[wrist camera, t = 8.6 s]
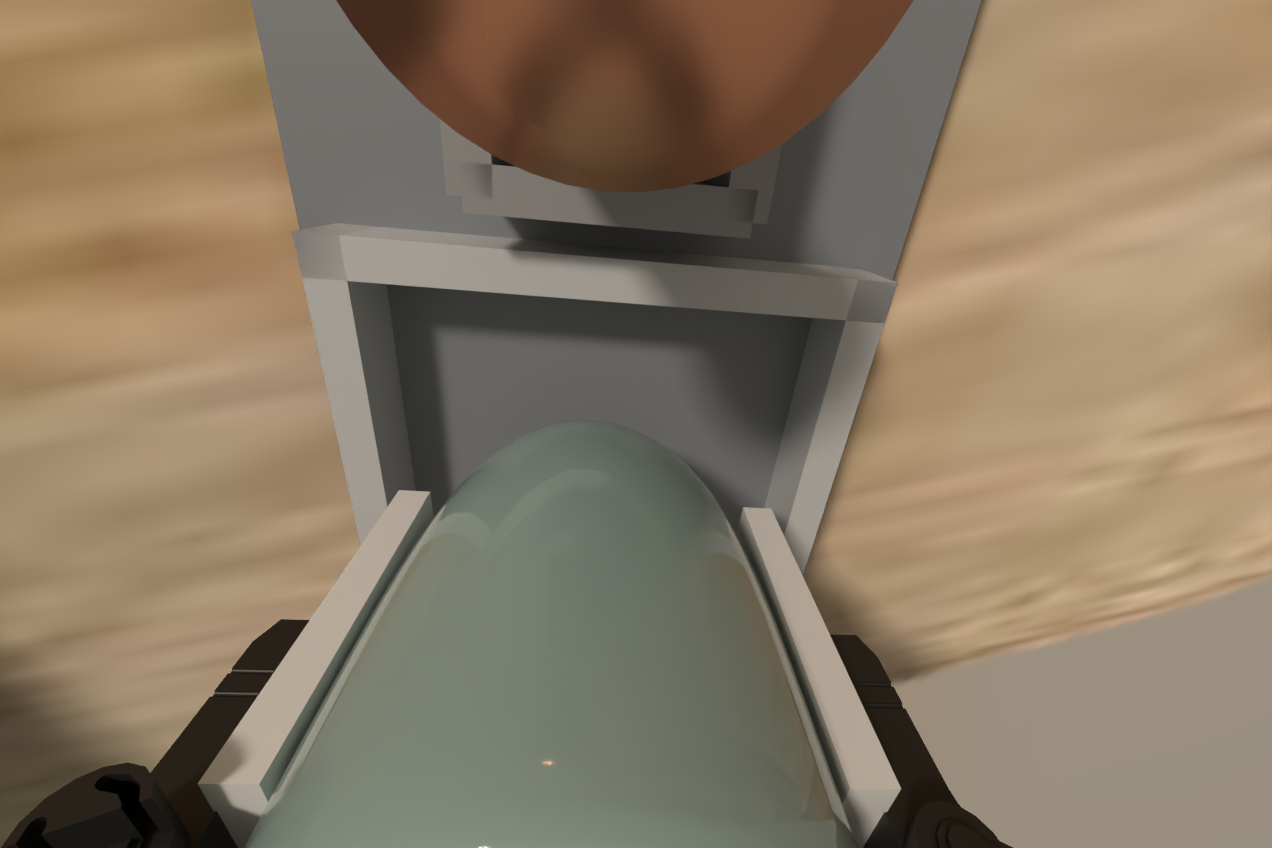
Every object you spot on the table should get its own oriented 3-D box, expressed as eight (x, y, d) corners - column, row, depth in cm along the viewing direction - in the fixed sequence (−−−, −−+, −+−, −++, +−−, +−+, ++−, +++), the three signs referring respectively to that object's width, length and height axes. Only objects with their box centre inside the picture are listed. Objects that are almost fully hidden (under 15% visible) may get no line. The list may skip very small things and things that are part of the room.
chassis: (395, 580, 20) (337, 687, 16) (239, -271, 10) (-45, -605, 6) (773, 595, 21) (811, 698, 17) (993, -156, 11) (1228, -363, 7)
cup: (577, 317, 12) (475, 733, 3) (773, 495, 15) (1019, 990, 6) (401, 506, 14) (53, 1054, 5) (597, 629, 17) (581, 1130, 8)
